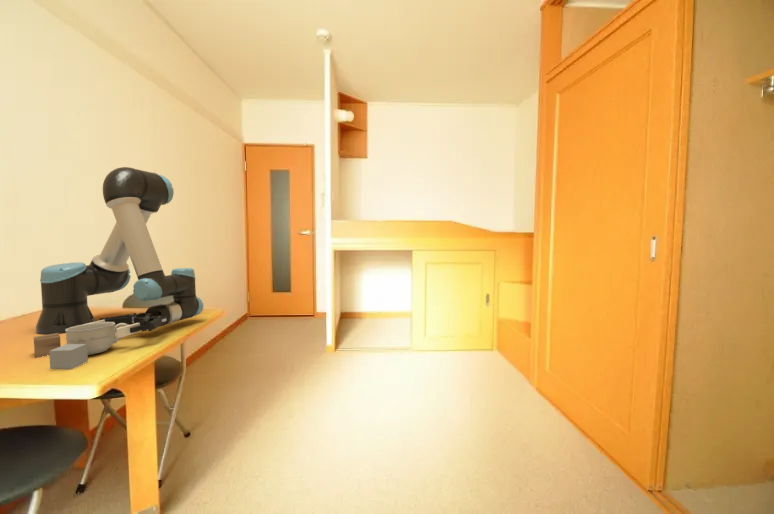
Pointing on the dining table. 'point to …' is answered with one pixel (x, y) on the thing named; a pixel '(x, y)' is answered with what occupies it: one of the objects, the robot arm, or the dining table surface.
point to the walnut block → (46, 344)
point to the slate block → (68, 356)
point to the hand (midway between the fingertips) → (98, 331)
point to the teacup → (94, 336)
